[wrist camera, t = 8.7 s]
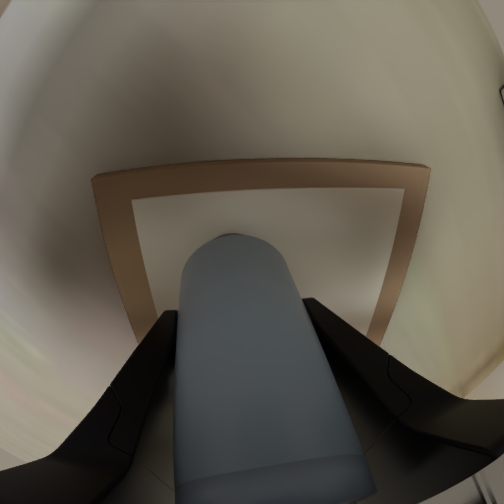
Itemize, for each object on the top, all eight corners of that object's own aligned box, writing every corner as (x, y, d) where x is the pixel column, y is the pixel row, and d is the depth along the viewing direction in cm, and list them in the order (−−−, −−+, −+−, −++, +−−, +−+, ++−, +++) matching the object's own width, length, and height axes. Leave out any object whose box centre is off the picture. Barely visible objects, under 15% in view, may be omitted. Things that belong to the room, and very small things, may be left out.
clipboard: (358, 380, 19) (364, 393, 18) (169, 405, 18) (169, 421, 17) (423, 164, 11) (440, 173, 10) (96, 174, 10) (84, 185, 9)
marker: (277, 293, 13) (346, 508, 5) (189, 300, 12) (196, 531, 4) (281, 213, 11) (412, 471, 3) (178, 220, 10) (149, 517, 2)
